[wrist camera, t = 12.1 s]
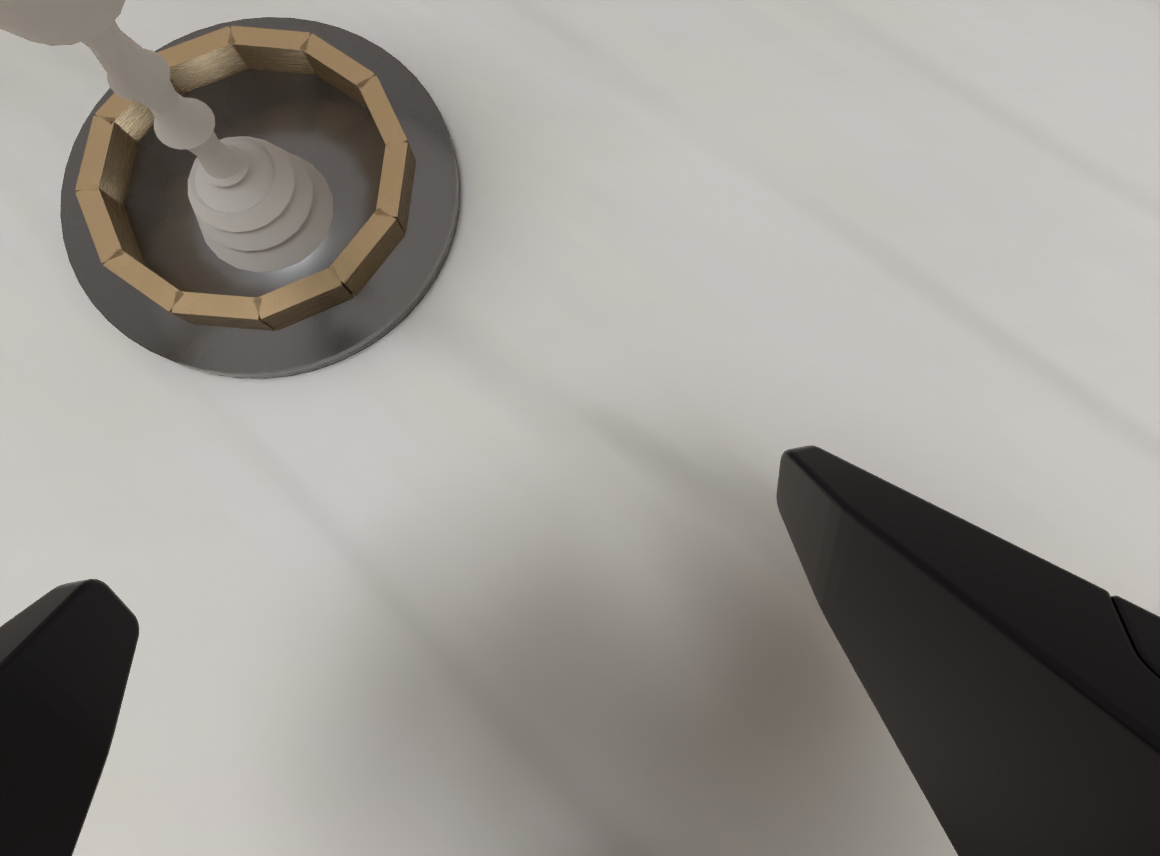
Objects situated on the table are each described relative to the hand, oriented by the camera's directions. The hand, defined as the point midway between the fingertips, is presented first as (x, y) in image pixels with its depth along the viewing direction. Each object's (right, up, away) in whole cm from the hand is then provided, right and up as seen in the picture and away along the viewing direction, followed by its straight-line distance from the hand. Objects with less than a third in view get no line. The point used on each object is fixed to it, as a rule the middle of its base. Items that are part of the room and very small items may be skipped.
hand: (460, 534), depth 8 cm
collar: (-11, +11, +15) cm, 22 cm away
